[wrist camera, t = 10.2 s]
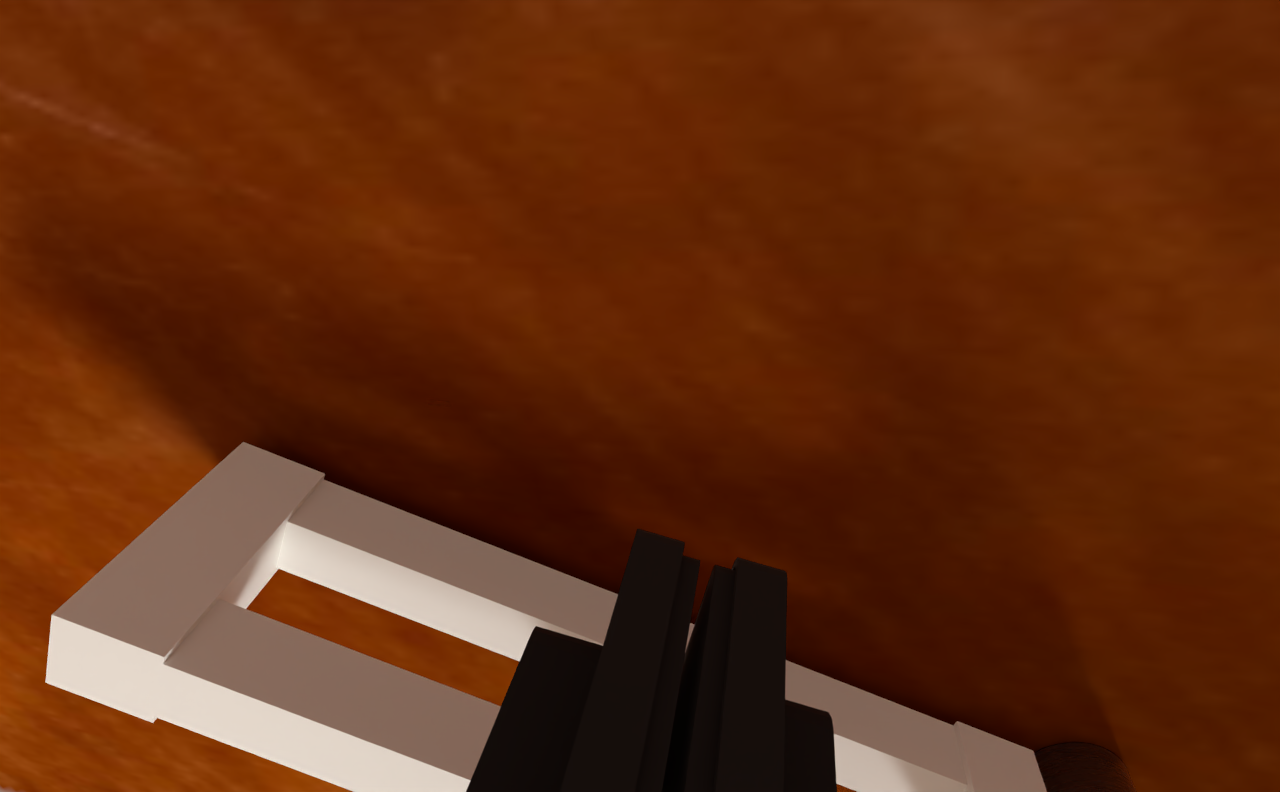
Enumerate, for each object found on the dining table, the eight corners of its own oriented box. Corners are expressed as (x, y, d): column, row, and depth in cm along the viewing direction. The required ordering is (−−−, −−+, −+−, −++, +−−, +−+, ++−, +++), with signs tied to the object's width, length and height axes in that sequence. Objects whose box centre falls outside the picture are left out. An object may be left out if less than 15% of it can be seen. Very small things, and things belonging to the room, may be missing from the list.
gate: (1032, 750, 20) (1123, 1020, 15) (996, 795, 20) (1070, 1067, 15) (243, 441, 19) (51, 614, 14) (231, 498, 20) (45, 682, 14)
